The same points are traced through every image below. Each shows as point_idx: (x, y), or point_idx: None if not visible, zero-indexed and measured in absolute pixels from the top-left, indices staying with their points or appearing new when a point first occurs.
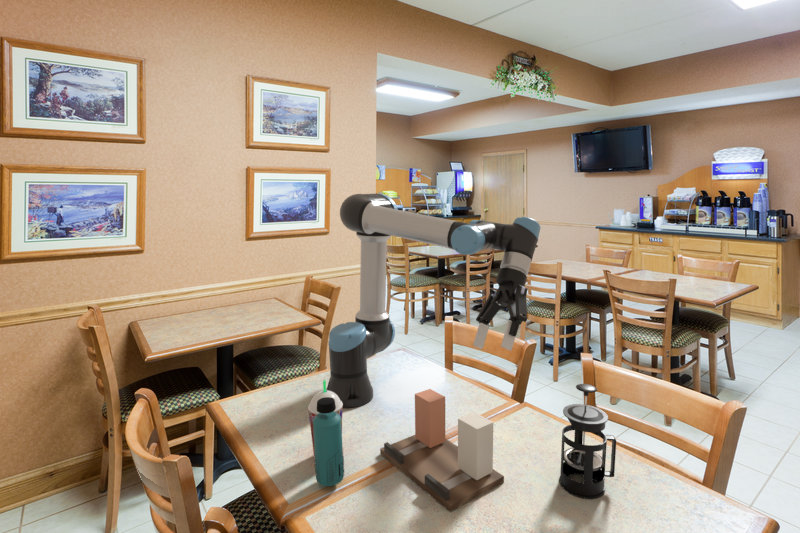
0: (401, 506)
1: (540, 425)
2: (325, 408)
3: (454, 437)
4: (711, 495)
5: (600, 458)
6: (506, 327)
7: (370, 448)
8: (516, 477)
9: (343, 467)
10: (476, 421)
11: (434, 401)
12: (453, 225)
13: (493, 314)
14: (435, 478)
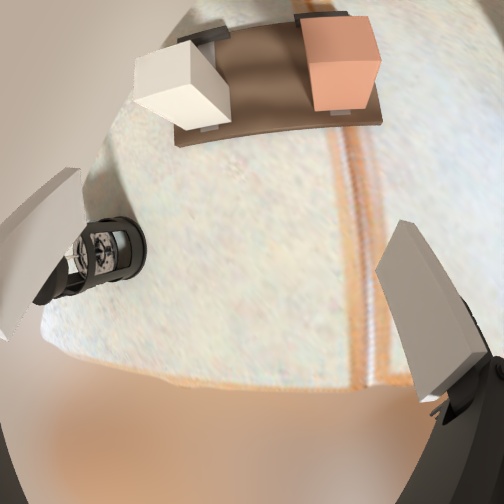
0: (223, 7)
1: (275, 348)
2: None
3: (342, 158)
4: (67, 350)
5: (84, 275)
6: (1, 237)
7: (380, 21)
8: (177, 174)
9: None
10: (155, 69)
11: (303, 32)
12: None
13: (409, 497)
14: (231, 49)
